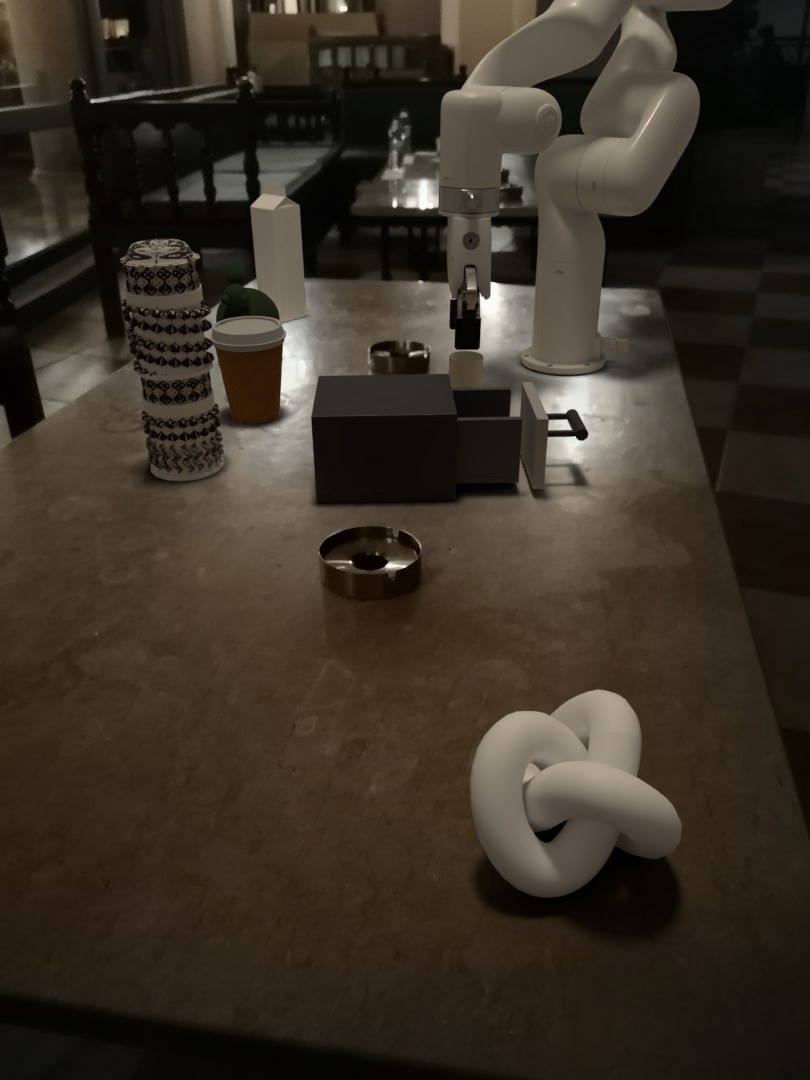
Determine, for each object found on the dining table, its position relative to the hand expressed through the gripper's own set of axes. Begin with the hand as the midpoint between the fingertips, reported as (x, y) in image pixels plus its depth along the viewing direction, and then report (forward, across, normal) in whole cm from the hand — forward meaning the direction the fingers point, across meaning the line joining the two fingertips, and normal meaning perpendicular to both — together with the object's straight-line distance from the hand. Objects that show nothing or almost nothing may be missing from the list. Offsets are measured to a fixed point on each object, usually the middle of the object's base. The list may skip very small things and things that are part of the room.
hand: (463, 338), depth 120 cm
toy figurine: (+9, +14, +30) cm, 35 cm away
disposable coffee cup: (+9, -4, +28) cm, 29 cm away
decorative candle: (+10, -20, +34) cm, 40 cm away
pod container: (+8, 0, 0) cm, 9 cm away
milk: (+8, +44, +28) cm, 54 cm away
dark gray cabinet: (+9, -24, +10) cm, 28 cm away
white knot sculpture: (+10, -78, 0) cm, 79 cm away
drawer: (+8, -25, -2) cm, 26 cm away
